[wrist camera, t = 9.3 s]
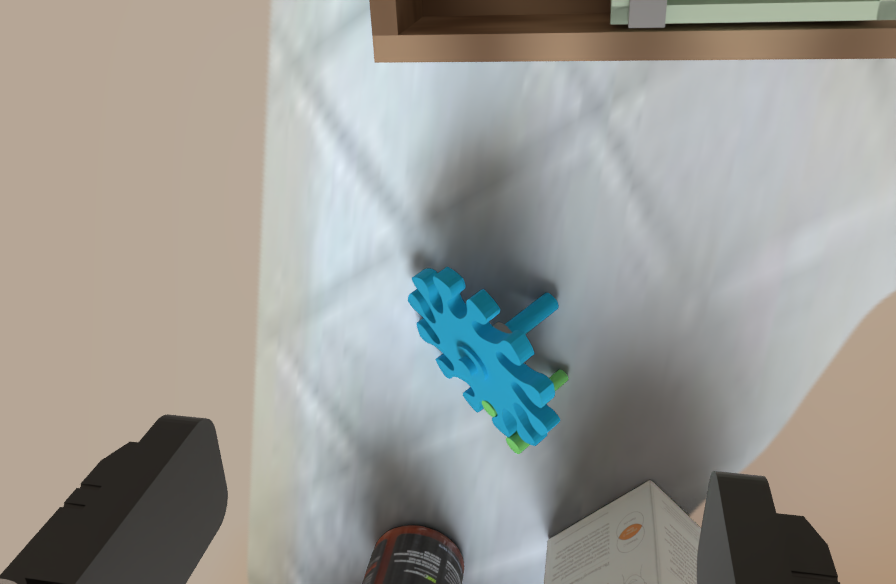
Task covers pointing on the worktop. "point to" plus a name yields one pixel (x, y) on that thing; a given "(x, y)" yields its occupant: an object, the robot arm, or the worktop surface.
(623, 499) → the small box
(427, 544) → the supplement bottle
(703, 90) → the worktop surface
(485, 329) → the gear
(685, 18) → the crate
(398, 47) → the bay
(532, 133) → the worktop surface
